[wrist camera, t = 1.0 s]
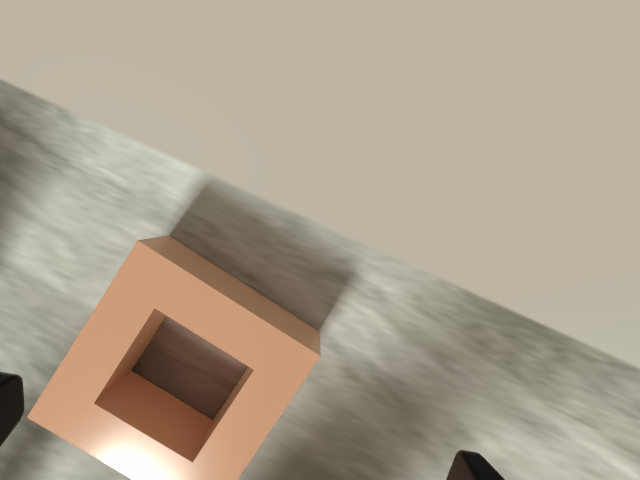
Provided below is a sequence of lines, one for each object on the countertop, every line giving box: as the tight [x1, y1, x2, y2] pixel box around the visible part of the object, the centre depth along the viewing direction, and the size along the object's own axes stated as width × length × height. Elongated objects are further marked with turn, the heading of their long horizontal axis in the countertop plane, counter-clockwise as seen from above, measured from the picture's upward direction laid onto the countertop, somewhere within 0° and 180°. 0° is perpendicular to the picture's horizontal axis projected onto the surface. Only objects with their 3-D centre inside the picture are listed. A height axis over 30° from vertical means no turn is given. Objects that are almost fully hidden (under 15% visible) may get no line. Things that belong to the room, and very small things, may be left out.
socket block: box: [27, 236, 321, 480], centre depth 21 cm, size 11×11×4 cm
